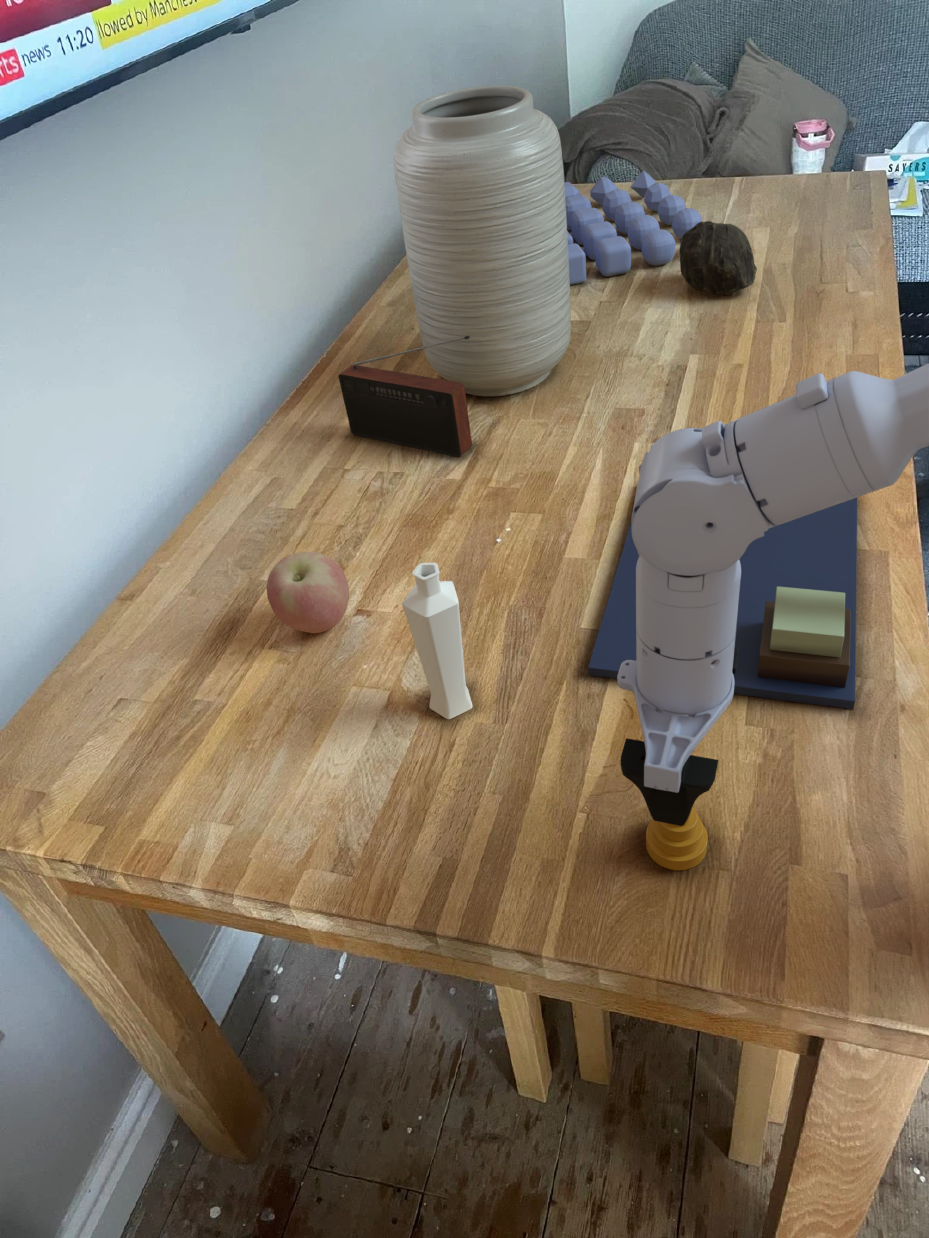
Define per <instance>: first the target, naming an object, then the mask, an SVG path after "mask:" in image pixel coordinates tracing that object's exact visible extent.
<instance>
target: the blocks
mask: <svg viewBox="0 0 929 1238" xmlns="http://www.w3.org/2000/svg"><path fill="white" fill-rule="evenodd" d="M564 185H565V201H566V218H567V238H568V258H569V281H570V286H573V285H578V284H583V283H584V282H586V281H587V261H586V260H587V258H586V256H587V257H588V258H589V260H592V261H595V267H596V268H597V270H598V271H599V273H600V274H601V275H602V276H604V277H608V278H609V277H614V276H619V275H624V274H627V273H628V272H630V270H631V268H632V247H633V248H634V249H636V250H641V255H642V257H643V259H644V261H646V263H647V264H648V265H651V266H656V267H657V266H658V267H659V266H663V265H666V264H668V263H670V262H671V261H672V260H673V258H674V257H675V254H676V240H675V238H674V236H673V234H674V235H675V237H676V238H678V239H680V240H682V237H683V235H684V234H685V233H686V232H687V231H689V230H690V229H692V228H693V227H694V226H695V225H696V224H697V223H699V222H703V219H702V215H701V213H700V212H699V211H698V210H697V209H695V208H691V207H687V206H686V202H685V200H684V198H682V197H681V196H680V195H675V194H671V193H672V192H671V191H670V187H669V185H668V184H666V183H665V184H664V183H661V182H657V181H656V180H655V179H654V178H653V177H652V176H651V175H650V174H649V173H647V172H646V170H642V171H641V172H640V174H639V175H638V176H637V178H636V179H635V180H634V182H633V183H632V184H631V185H630V188H631V189H632V190H633V191H634V192H635V193H636V194H637V195H639V196H640V197H641V198H642V199H643V201H644V203H645V206H646V208H647V210H649V211H652V212H657V214H658V219H659V221H660V222H662V224H664V225H665V226H666V225H668V226H672V231H673V234H671V232H669V231H668V230H665V229H660V224H659V222H658V220H657V219H656V218H655V216H654V217H653V216H652V215H650V214H646V211H645V209H644V207H643V206H642V205H641V204H640V203H639V202H637V201H632V198H631V196H630V193H629V192H628V191H627V190H624V189H620V188H619V187H618V185H616V184H615V183H614V182H613V181H612V180H610V179H609V178H608V177H607V176H601V177H599V179H598V180H597V181H596V182H595V184H594V185H593V186H592V188H591V189H590V191H589V195H590V199H592V200H594V202H595V203H597V204H598V205H600V206H601V207H602V212H603V213H602V212H601V211H600V210H599V209H598V208H597V207H592V204H591V203H592V202H591V200H590V199H589V198H588V197H587V196H586V195H582V194H580V191H579V189H577V187H576V186H574V184H572V183H571V182H570V181H566V182H564ZM603 214H604V215H603ZM604 216H605V218H606V219H607V220H610V221H614V225H615V226H613V224H611V222H609V221H607V220H605V219H604ZM569 231H571V234H570V232H569ZM617 231H618V232H619V233H621V234H622V235H627V239H628V241H627V240H626V238H624V237H623V236H621V235H618V232H617ZM574 241H575V242H576V243H574ZM580 245H581V246H582V247H583V249H582V247H581V246H580ZM631 246H632V247H631Z"/></svg>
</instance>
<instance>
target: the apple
mask: <svg viewBox="0 0 929 1238" xmlns="http://www.w3.org/2000/svg"><path fill="white" fill-rule="evenodd" d="M266 596H267V600H268V603H269V605H270V608H271V610H272V611H273V613H274V614H275V616H276V617H277V618H278V619H279V620H280V621H281V622H282V623H283V624H285V625H286V626H288V627H289V628H290V629H294V630H296V631H300V632H305V633H308V634H309V633H310V634H320V633H323V632H326V631H329V630H331V629H333V628H334V627H336V626H337V625H338V624H339V623H340V622H341V621H342V619H343V617H344V616H345V613H347V612H346V611H347V608H348V605H349V600H350V586H349V581H348V579H347V576H346V573H345V572H344V570H343V569H342V567H341V566H340V565H339V564H338V563H337V562H336V561H335V560H334V559H332V558H331V557H329V556H328V555H325V554H324V553H321V552H319V551H298V552H294V553H292V554H289V555H287V556H285V557H283V558H282V559H280V560H279V561H277V563H276V564H275V565H274V566H273V567H272V568H271V570H270V572H269V574H268V577H267V580H266Z"/></svg>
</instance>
